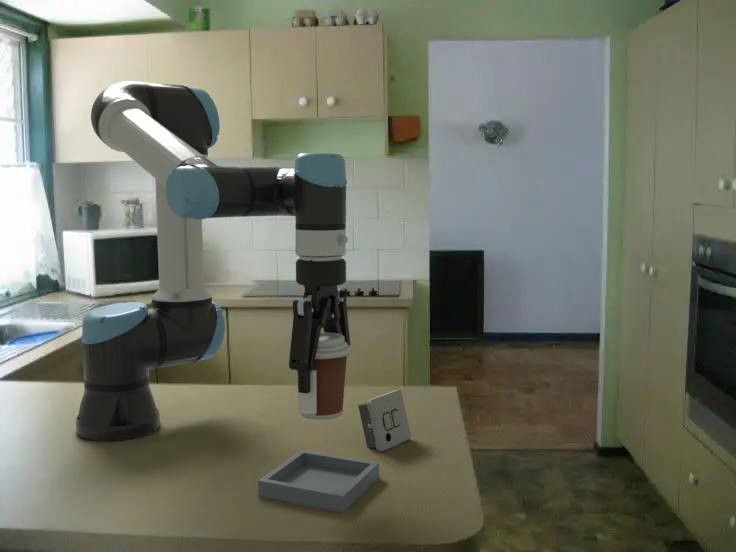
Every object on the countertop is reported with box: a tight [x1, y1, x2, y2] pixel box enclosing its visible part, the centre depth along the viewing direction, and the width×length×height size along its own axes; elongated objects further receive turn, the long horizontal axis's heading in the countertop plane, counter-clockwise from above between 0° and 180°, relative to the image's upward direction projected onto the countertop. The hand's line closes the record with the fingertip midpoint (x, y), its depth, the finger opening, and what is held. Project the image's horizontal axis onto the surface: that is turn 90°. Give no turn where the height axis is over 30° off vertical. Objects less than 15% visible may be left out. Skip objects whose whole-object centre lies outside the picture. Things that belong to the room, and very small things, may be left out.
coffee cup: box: [296, 331, 352, 421], centre depth 116 cm, size 9×9×12 cm
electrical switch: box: [357, 389, 412, 452], centre depth 138 cm, size 9×5×9 cm, turn 141°
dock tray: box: [257, 449, 380, 514], centre depth 118 cm, size 14×14×2 cm
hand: (321, 404), depth 116 cm, fingers closed on coffee cup, 9 cm apart
